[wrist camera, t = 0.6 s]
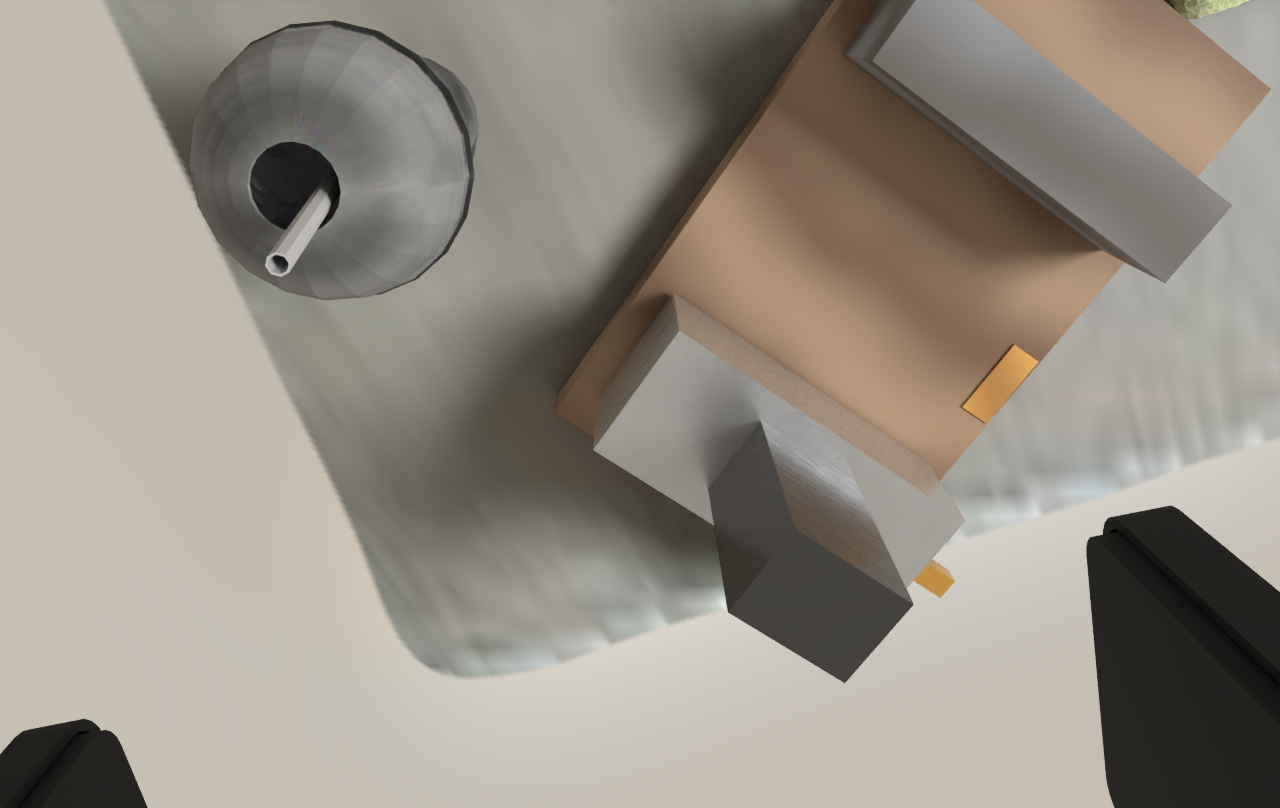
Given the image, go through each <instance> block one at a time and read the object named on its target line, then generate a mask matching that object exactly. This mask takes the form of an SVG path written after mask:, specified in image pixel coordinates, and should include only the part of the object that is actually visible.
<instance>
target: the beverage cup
mask: <svg viewBox="0 0 1280 808" xmlns="http://www.w3.org/2000/svg"><path fill="white" fill-rule="evenodd" d="M477 135H478V122H477V114H476V107H475V105H474V103H473V101H472V98H471V96H470V94H469V92H468V90H467V88H466V87H465V86H464V85H463V84H462V82H461V81H460V80H459V79H458V78H457V77H456V76H455V74H454V73H452V72H450V71H449V70H447V69H446V68H444V67H442V66H441V65H439V64H437V63H436V62H434V61H432V60H431V59H427V58H423V57H420V56H419V55H417V54H415V53H414V52H412V51H411V50H409V49H407V48H406V47H404V46H402V45H401V44H399V43H397V42H396V41H394V40H392V39H391V38H389V37H388V36H386V35H384V34H383V33H381V32H379V31H376V30H372V29H368V28H363V27H359V26H355V25H351V24H347V23H343V22H339V21H335V20H334V21H323V22H312V23H300V24H290V25H288V26H286V27H284V28H281V29H279V30H277V31H275V32H273V33H271V34H269V35H266V36H264V37H262V38H260V39H258V40H256V41H253V42H251V43H250V44H249V45H248V46H247V47H246V48H245V49H244V50H243V51H242V52H241V53H240V54H239V55H238V56H237V57H236V58H235V59H234V60H233V61H232V62H231V63H230V64H229V65H228V66H227V67H226V68H225V69H224V71H223V72H222V73H221V74H220V75H219V76H218V77H217V78H216V79H215V80H214V82H213V83H212V84H211V85H210V87H209V89H208V92H207V94H206V96H205V98H204V100H203V103H202V105H201V107H200V109H199V111H198V114H197V116H196V118H195V120H194V122H193V132H192V143H191V153H190V171H191V176H192V180H193V185H194V189H195V194H196V198H197V203H198V207H199V209H200V210H201V212H202V214H203V216H204V218H205V219H206V221H207V223H208V225H209V227H210V228H211V230H212V232H213V234H214V236H215V237H216V239H217V241H218V242H219V243H220V244H221V245H222V246H223V247H224V248H225V249H226V250H227V251H228V252H229V253H230V254H231V255H232V256H233V257H234V258H235V259H236V260H237V261H238V262H239V263H240V264H241V265H242V266H243V267H244V268H245V269H246V270H247V271H249V272H250V273H252V274H254V275H256V276H258V277H260V278H261V279H263V280H265V281H267V282H269V283H270V284H272V285H274V286H276V287H278V288H280V289H281V290H283V291H285V292H289V293H294V294H298V295H303V296H307V297H312V298H316V299H321V300H336V299H348V298H360V297H369V296H372V295H379V294H383V293H385V292H388V291H390V290H392V289H395V288H397V287H399V286H402V285H404V284H406V283H409V282H411V281H414V280H416V279H418V278H419V277H420V276H421V275H422V274H424V273H425V272H426V271H427V270H428V269H429V268H430V267H431V266H432V265H434V264H435V263H436V262H437V261H438V260H439V259H440V258H441V257H442V256H444V255H445V254H446V253H447V252H448V250H449V248H450V246H451V245H452V243H453V241H454V239H455V237H456V236H457V234H458V232H459V230H460V228H461V227H462V225H463V223H464V221H465V219H466V217H467V214H468V209H469V203H470V197H471V192H472V186H473V181H474V167H473V160H472V159H473V156H474V152H475V146H476V141H477Z"/></svg>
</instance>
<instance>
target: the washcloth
mask: <svg viewBox="0 0 1280 808" xmlns="http://www.w3.org/2000/svg"><path fill="white" fill-rule="evenodd" d="M1170 1H1171V4H1172V5H1173V6H1174V8H1175V10H1176V11H1177V12H1178V13H1179V14H1181V15H1182V16H1183V17H1184V18H1185V19H1196V18H1201V17H1203V16H1205V15H1209V14H1213V13H1216V12H1220V11H1222V10H1225V9H1228V8H1232V7H1236V6H1238V5H1239V4H1241V3H1244V2H1247V1H1250V0H1170Z"/></svg>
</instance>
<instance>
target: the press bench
mask: <svg viewBox="0 0 1280 808" xmlns="http://www.w3.org/2000/svg"><path fill="white" fill-rule="evenodd" d="M1270 90H1271V89H1270V88H1269V87H1268V86H1266V85H1265V84H1264V83H1263V82H1262V81H1260V80H1259V79H1258V78H1257V77H1256V76H1254V75H1253V74H1252V73H1251V72H1249V71H1248V70H1247V69H1246V68H1245V67H1243V66H1242V65H1241V64H1240V63H1239V62H1237V61H1236V60H1235V59H1234V58H1233V57H1231V56H1230V55H1229V54H1228V53H1227V52H1225V51H1224V50H1223V49H1222V48H1220V47H1219V46H1218V45H1217V44H1216V43H1214V42H1213V41H1212V40H1211V39H1210V38H1208V37H1207V36H1206V35H1205V34H1204V33H1202V32H1201V31H1200V30H1199V29H1198V28H1196V27H1195V26H1194V25H1193V24H1191V23H1190V22H1189V21H1188V20H1187V19H1185V18H1184V17H1183V16H1182V15H1181V14H1179V13H1178V12H1177V11H1176V10H1175V9H1173V8H1172V7H1171V6H1170V5H1169V4H1167V3H1166V2H1165V1H1164V0H833V2H832V3H831V5H830V6H829V7H828V9H827V10H826V12H825V13H824V15H823V16H822V17H821V19H820V20H819V22H818V23H817V25H816V26H815V27H814V29H813V30H812V32H811V33H810V35H809V36H808V38H807V39H806V40H805V42H804V43H803V45H802V46H801V48H800V49H799V50H798V52H797V53H796V55H795V56H794V58H793V59H792V60H791V62H790V63H789V65H788V66H787V68H786V69H785V70H784V72H783V73H782V75H781V76H780V78H779V79H778V80H777V82H776V83H775V85H774V86H773V88H772V89H771V90H770V92H769V93H768V95H767V96H766V98H765V99H764V100H763V102H762V103H761V105H760V106H759V108H758V109H757V110H756V112H755V113H754V115H753V116H752V118H751V119H750V120H749V122H748V123H747V125H746V126H745V128H744V129H743V131H742V132H741V133H740V135H739V136H738V138H737V139H736V141H735V142H734V143H733V145H732V146H731V148H730V149H729V151H728V152H727V153H726V155H725V156H724V158H723V159H722V161H721V162H720V163H719V165H718V166H717V168H716V169H715V171H714V172H713V173H712V175H711V176H710V178H709V179H708V181H707V182H706V183H705V185H704V186H703V188H702V189H701V191H700V192H699V193H698V195H697V196H696V198H695V199H694V201H693V202H692V203H691V205H690V206H689V208H688V209H687V211H686V212H685V214H684V215H683V216H682V218H681V219H680V221H679V222H678V224H677V225H676V226H675V228H674V229H673V231H672V232H671V234H670V235H669V236H668V238H667V239H666V241H665V242H664V244H663V245H662V246H661V248H660V249H659V251H658V252H657V254H656V255H655V256H654V258H653V259H652V261H651V262H650V264H649V265H648V266H647V268H646V269H645V271H644V272H643V274H642V275H641V276H640V278H639V279H638V281H637V282H636V284H635V285H634V286H633V288H632V289H631V291H630V292H629V294H628V295H627V296H626V298H625V299H624V301H623V302H622V304H621V305H620V307H619V308H618V309H617V311H616V312H615V314H614V315H613V317H612V318H611V319H610V321H609V322H608V324H607V325H606V327H605V328H604V329H603V331H602V332H601V334H600V335H599V337H598V338H597V339H596V341H595V342H594V344H593V345H592V347H591V348H590V349H589V351H588V352H587V354H586V355H585V357H584V358H583V359H582V361H581V362H580V364H579V365H578V367H577V368H576V369H575V371H574V372H573V374H572V375H571V377H570V378H569V379H568V381H567V382H566V384H565V385H564V387H563V388H562V390H561V391H560V392H559V394H558V395H557V399H556V404H555V410H554V414H555V415H557V416H559V417H560V418H562V419H563V420H565V421H567V422H568V423H570V424H571V425H573V426H575V427H576V428H578V429H579V430H581V431H583V432H584V433H586V434H587V435H589V436H591V437H592V438H594V433H595V420H596V408H597V399H598V398H599V396H600V395H601V393H602V392H603V391H604V389H605V388H606V386H607V385H608V384H609V382H610V381H611V379H612V378H613V377H614V375H615V374H616V372H617V371H618V370H619V368H620V367H621V365H622V364H623V363H624V361H625V360H626V358H627V357H628V356H629V354H630V353H631V351H632V350H633V348H634V347H635V346H636V344H637V343H638V341H639V340H640V339H641V337H642V336H643V334H644V333H645V332H646V330H647V329H648V327H649V326H650V325H651V323H652V322H653V320H654V319H655V318H656V316H657V315H658V313H659V312H660V311H661V309H662V308H663V306H664V305H665V304H666V302H667V301H668V299H669V298H670V297H671V295H672V294H673V293H675V294H676V295H678V296H679V297H681V298H682V299H684V300H685V301H687V302H688V303H690V304H691V305H693V306H694V307H696V308H697V309H699V310H700V311H702V312H703V313H705V314H706V315H708V316H709V317H711V318H712V319H714V320H715V321H717V322H718V323H720V324H721V325H723V326H724V327H726V328H727V329H729V330H730V331H732V332H733V333H735V334H736V335H738V336H739V337H741V338H742V339H743V340H745V341H746V342H748V343H749V344H751V345H752V346H754V347H755V348H757V349H758V350H760V351H761V352H763V353H764V354H766V355H767V356H769V357H770V358H772V359H773V360H775V361H776V362H778V363H779V364H781V365H782V366H784V367H785V368H787V369H788V370H790V371H791V372H793V373H794V374H796V375H797V376H799V377H800V378H802V379H803V380H805V381H806V382H808V383H809V384H811V385H812V386H814V387H815V388H817V389H818V390H820V391H821V392H822V393H824V394H825V395H827V396H828V397H830V398H831V399H833V400H834V401H836V402H837V403H839V404H840V405H842V406H843V407H845V408H846V409H848V410H849V411H851V412H852V413H854V414H855V415H857V416H858V417H860V418H861V419H863V420H864V421H866V422H867V423H869V424H870V425H872V426H873V427H875V428H876V429H878V430H879V431H881V432H882V433H884V434H885V435H887V436H888V437H890V438H891V439H893V440H894V441H896V442H897V443H898V444H900V445H901V446H903V447H904V448H906V449H907V450H909V451H910V452H912V453H913V454H915V455H916V456H918V457H919V458H921V459H922V460H924V461H925V462H927V463H928V464H929V466H930V467H931V469H932V470H933V472H934V473H935V475H936V476H937V478H938V479H939V481H940V480H941V479H942V477H943V476H944V475H945V474H946V473H947V471H948V470H949V469H950V468H951V467H952V466H953V464H954V463H955V462H956V461H957V460H958V458H959V457H960V456H961V455H962V454H963V453H964V451H965V450H966V449H967V448H968V447H969V446H970V444H971V443H972V442H973V441H974V440H975V438H976V437H977V436H978V435H979V434H980V433H981V431H982V430H983V429H984V428H985V427H986V425H987V424H988V423H989V422H990V421H991V420H992V418H993V417H994V416H995V415H996V414H997V412H998V411H999V410H1000V409H1001V408H1002V407H1003V405H1004V404H1005V403H1006V402H1007V401H1008V399H1009V398H1010V397H1011V396H1012V395H1013V394H1014V392H1015V391H1016V390H1017V389H1018V388H1019V386H1020V385H1021V384H1022V383H1023V382H1024V381H1025V379H1026V378H1027V377H1028V376H1029V375H1030V373H1031V372H1032V371H1033V370H1034V369H1035V368H1036V366H1037V365H1038V364H1039V363H1040V362H1041V361H1042V359H1043V358H1044V357H1045V356H1046V355H1047V353H1048V352H1049V351H1050V350H1051V349H1052V348H1053V346H1054V345H1055V344H1056V343H1057V342H1058V340H1059V339H1060V338H1061V337H1062V336H1063V335H1064V333H1065V332H1066V331H1067V330H1068V329H1069V327H1070V326H1071V325H1072V324H1073V323H1074V322H1075V320H1076V319H1077V318H1078V317H1079V316H1080V314H1081V313H1082V312H1083V311H1084V310H1085V309H1086V307H1087V306H1088V305H1089V304H1090V303H1091V301H1092V300H1093V299H1094V298H1095V297H1096V296H1097V294H1098V293H1099V292H1100V291H1101V290H1102V288H1103V287H1104V286H1105V285H1106V284H1107V283H1108V281H1109V280H1110V279H1111V278H1112V277H1113V276H1114V274H1115V273H1116V272H1117V271H1118V270H1119V268H1120V267H1121V266H1122V265H1123V264H1124V263H1125V262H1126V263H1127V264H1129V265H1131V266H1133V267H1135V268H1137V269H1139V270H1141V271H1143V272H1145V273H1147V274H1149V275H1151V276H1153V277H1155V278H1157V279H1159V280H1161V281H1162V282H1164V283H1166V282H1167V280H1168V279H1169V278H1170V277H1171V276H1172V275H1173V273H1174V272H1175V271H1176V270H1177V269H1178V268H1179V266H1180V265H1181V264H1182V263H1183V262H1184V261H1185V260H1186V258H1187V257H1188V256H1189V255H1190V254H1191V253H1192V251H1193V250H1194V249H1195V248H1196V247H1197V246H1198V245H1199V243H1200V242H1201V241H1202V240H1203V239H1204V238H1205V236H1206V235H1207V234H1208V233H1209V232H1210V231H1211V230H1212V228H1213V227H1214V226H1215V225H1216V224H1217V223H1218V221H1219V220H1220V219H1221V218H1222V217H1223V216H1224V214H1225V213H1226V212H1227V211H1228V210H1229V209H1230V208H1231V206H1232V205H1231V204H1230V203H1229V202H1227V201H1226V200H1225V199H1224V198H1222V197H1221V196H1220V195H1219V194H1217V193H1216V192H1215V191H1214V190H1212V189H1211V188H1210V187H1208V186H1207V185H1206V184H1205V183H1203V182H1202V181H1201V180H1200V179H1198V178H1197V176H1198V175H1199V174H1200V173H1201V172H1202V170H1203V169H1204V168H1205V167H1206V166H1207V165H1208V163H1209V162H1210V161H1211V160H1212V159H1213V157H1214V156H1215V155H1216V154H1217V153H1218V152H1219V150H1220V149H1221V148H1222V147H1223V146H1224V144H1225V143H1226V142H1227V141H1228V140H1229V139H1230V137H1231V136H1232V135H1233V134H1234V133H1235V131H1236V130H1237V129H1238V128H1239V127H1240V126H1241V124H1242V123H1243V122H1244V121H1245V120H1246V119H1247V117H1248V116H1249V115H1250V114H1251V113H1252V111H1253V110H1254V109H1255V108H1256V107H1257V106H1258V104H1259V103H1260V102H1261V101H1262V100H1263V98H1264V97H1265V96H1266V95H1267V94H1268V93H1269V91H1270Z"/></svg>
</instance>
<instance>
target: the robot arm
mask: <svg viewBox="0 0 1280 808" xmlns="http://www.w3.org/2000/svg"><path fill="white" fill-rule="evenodd" d="M1087 564H1088V565H1087V566H1088V576H1089V588H1090V600H1091V611H1092V622H1093V634H1094V645H1095V656H1096V667H1097V678H1098V689H1099V700H1100V713H1101V724H1102V736H1103V746H1104V757H1105V770H1106V779H1107V785H1108V789H1109V793H1110V796H1111V799H1112V802H1113V805H1114V807H1115V808H1280V592H1279V591H1278V590H1276V589H1275V588H1274V587H1273V586H1272V585H1270V584H1269V583H1268V582H1267V581H1266V580H1264V579H1263V578H1262V577H1261V576H1259V575H1258V574H1257V573H1256V572H1254V571H1253V570H1252V569H1251V568H1250V567H1248V566H1247V565H1246V564H1245V563H1244V562H1242V561H1241V560H1240V559H1238V558H1237V557H1236V556H1235V555H1234V554H1233V553H1231V552H1230V551H1229V550H1228V549H1226V548H1225V547H1224V546H1223V545H1222V544H1220V543H1219V542H1218V541H1217V540H1215V539H1214V538H1213V537H1212V536H1211V535H1209V534H1208V533H1207V532H1205V531H1204V530H1203V529H1202V528H1201V527H1200V526H1198V525H1197V524H1196V523H1195V522H1193V521H1192V520H1191V519H1190V518H1189V517H1187V516H1186V515H1185V514H1184V513H1183V512H1181V511H1180V510H1179V509H1177V508H1175V507H1173V506H1166V507H1161V508H1156V509H1151V510H1146V511H1140V512H1136V513H1130V514H1125V515H1121V516H1115V517H1110V518H1108V519H1107V520H1106V522H1105V524H1104V529H1103V535H1100V536H1094V537H1090V538H1089V540H1088V542H1087ZM0 808H147V805H146V803H145V800H144V798H143V796H142V793H141V791H140V789H139V786H138V784H137V781H136V779H135V777H134V774H133V772H132V770H131V767H130V765H129V762H128V760H127V758H126V756H125V753H124V751H123V748H122V746H121V744H120V742H119V740H118V738H117V737H116V736H115V735H114V734H113V733H112V732H110V731H107V730H103V731H101V730H100V728H99V727H98V726H97V725H96V724H95V723H93V722H92V721H90V720H86V719H81V720H76V721H71V722H66V723H60V724H55V725H50V726H45V727H40V728H35V729H30V730H26V731H23V732H21V733H20V734H19V735H18V736H16V737H15V738H14V739H13V740H12V741H11V743H10V744H9V745H8V746H7V747H6V748H5V750H4V751H3V752H2V753H1V754H0Z"/></svg>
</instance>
